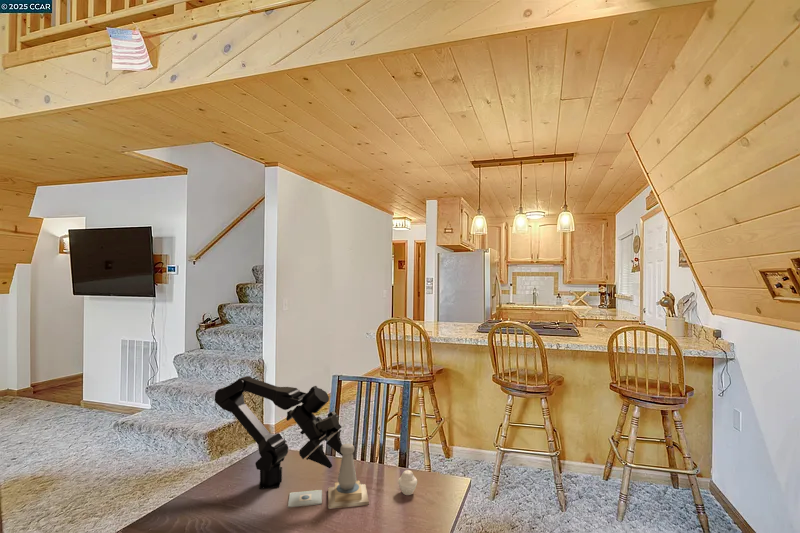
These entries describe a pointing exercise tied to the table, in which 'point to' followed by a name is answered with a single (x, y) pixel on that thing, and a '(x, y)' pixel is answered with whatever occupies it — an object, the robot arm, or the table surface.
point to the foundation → (347, 496)
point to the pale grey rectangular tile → (305, 498)
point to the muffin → (407, 482)
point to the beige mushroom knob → (347, 468)
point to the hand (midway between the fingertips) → (338, 461)
